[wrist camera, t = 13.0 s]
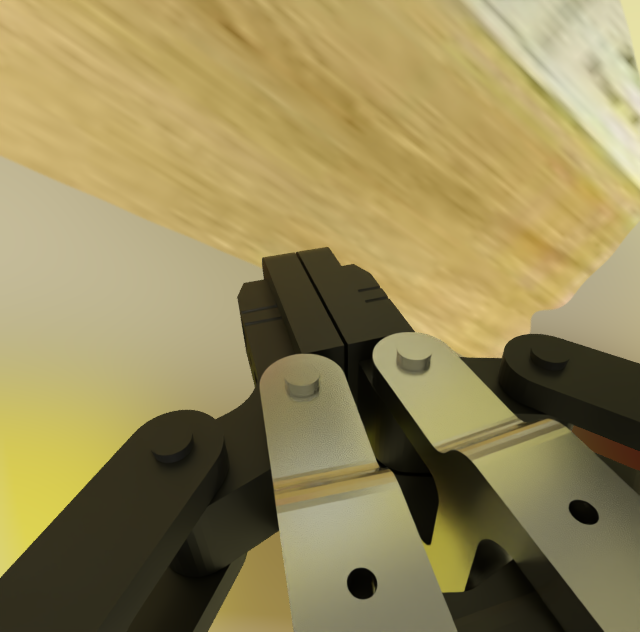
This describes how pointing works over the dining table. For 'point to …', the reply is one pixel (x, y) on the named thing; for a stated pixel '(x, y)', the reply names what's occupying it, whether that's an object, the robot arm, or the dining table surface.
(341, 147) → the dining table surface
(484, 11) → the dining table surface
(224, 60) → the dining table surface
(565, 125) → the dining table surface
